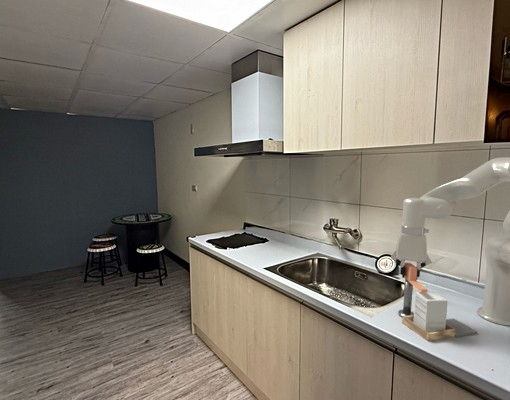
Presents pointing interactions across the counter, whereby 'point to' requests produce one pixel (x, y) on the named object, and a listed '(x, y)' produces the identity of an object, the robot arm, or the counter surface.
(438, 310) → the white drawer cabinet
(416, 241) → the robot arm
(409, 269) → the lever
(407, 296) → the post
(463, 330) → the coaster
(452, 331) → the frame
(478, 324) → the counter surface
